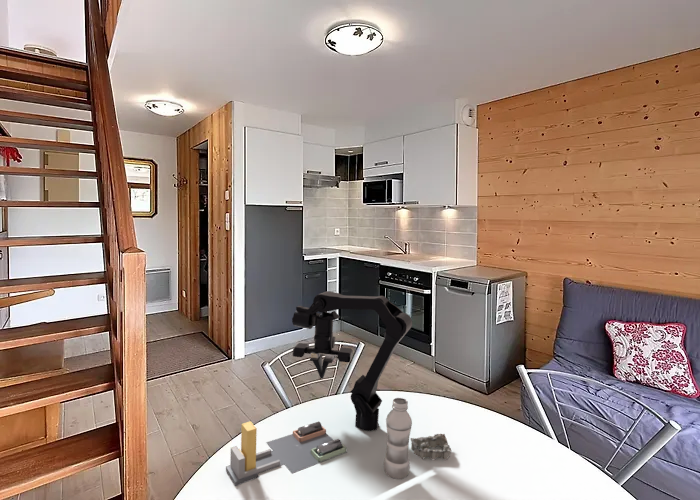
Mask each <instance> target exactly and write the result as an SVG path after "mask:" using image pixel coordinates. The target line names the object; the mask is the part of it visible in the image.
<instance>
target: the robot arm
mask: <svg viewBox="0 0 700 500" xmlns="http://www.w3.org/2000/svg"><path fill="white" fill-rule="evenodd" d="M339 310H358V311H359V310H360V311H375V312H376V314H377V315H378V316H379V319H380V320H381V322H382V323H383V324H384V326H386V328H385V331H384V337H383V338H384V339H383V342H382V343H381V345H380V347H379V349H378V351H377V354H376V355H375V357H374V359H373V361H372V363H371V365H370V367H369V368H368V370H367V373H366V374H365V375H364V374H362V375H360V377H359V378H358V379H357V380H356V381H355V382H354V386H353V388H352V389H351V390H350V392H349V393H351V394H350V400H351V403H352V404H353V407H354V411H355V423H354V424H355V425H354V427H355V428H357V429H359V430H362V431H365V432H373V431H378V428H379V425H380V424H379V417H380V416H379V415H380V413H379V412H380V408H379V407H380V406H381V404H382V402H383V400H382V398H381V397H380V396H379V394H378V393H377V389H378V385H379V380H380V378H381V376H382V374H383V372H384V370H385V368H386V366H387V365H388V362H389V361H390V359H391V356H392V355H393V353H394V352H395V350H396V347H397V346H398V344H399V342H401V340H402V339H403V338H404V337H405V335H406V334H407V333H408V332H409V331H410V330H411V328H412V327H413V320H412V317H411V316H410V315H409V314H408V313H405V312H404V311H402V310H401V309H400V307H398V306H397V305H396V304H393V303H392V302H391V301H390V300H389V299H388V298H387V297H386V296H384V295H379V296H377V295H376V296H370V295H369V296H367V295H344V294H341V293H338V292H336V291H335V292H334V291H331V290H328V291H324V292H321V293H318V294H316V295H315V296H314V298H313V302H312V303H311V305H310V306H309V307H306V306H304V305H297V306H296V307H295V311H294V313H293V316H292V318H291V319H292V320H291V321H292V325H293V326H294V327H298V328H303V329H307V330H311V329H312V328H314V336H313V342H314V345H313V346H314V347H310V344H309V343H303V342H302V343H301V342H298V343H297V344H296V345H295V346H294V347H293V349H292V357H293V358H294V357H295V358H296V357H297V358H302V357H304V356H305V354H308V355H309V354H310V358H309V361H310V362H312V363H313V365H314V366H315V369H316V370H317V371H316V372H317V373H318V376H319V378H320V379H324V377H325V374H326V371H327V368H328V366H329V364H332V363H333V362H334V360H335V359H336V358H337V360H338V361H339V362H341V363H342V362H343V363H351V360H352V359H353V355H354V354H353V353H354V352H353V351H354V350H353V349H352V347H343V346H342V347H340V348H339V350H336V349H334V348H335V345H336V336H334V331H333V330H334V321H337V319H339V318H340V317H341V316H340V315H339V314H338V313H337V311H339ZM323 357H324V359H323Z"/></svg>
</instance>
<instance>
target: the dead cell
mask: <svg viewBox="0 0 700 500" xmlns="http://www.w3.org/2000/svg"><path fill="white" fill-rule="evenodd" d="M297 430H298V435H299V436H300V437H303V436H306V435H309V434H312V433H315V432H318V431H321V430H322V423H321V422H320V421H316V422H312V423H309V424H306V425H304V426H303V425H302V426H300V427H298V428H297Z"/></svg>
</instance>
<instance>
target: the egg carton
mask: <svg viewBox="0 0 700 500" xmlns="http://www.w3.org/2000/svg"><path fill="white" fill-rule="evenodd" d="M410 442H411V444H410V445H411V447H410V449H411V451H413V454H415V456H417V457H418V458H419V459H421V460H424V459H425V458H429V459H431V460H432V461H435V460H436V459H437V458H441V459H443V460H447V461H448V458H450V457H451V452H452V449H451V446H450V445H449V442H448V440H447V437H446V434H445V433H436V434H434V435H433V436H432V435H429V436H425V437H424V436H420V437H417V438H415V437H410ZM437 446H439V447H440V448H441V447H442V448H443V449H438V448H437ZM431 448H432V449H431ZM434 448H437V449H434Z"/></svg>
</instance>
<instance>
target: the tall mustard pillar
mask: <svg viewBox="0 0 700 500" xmlns="http://www.w3.org/2000/svg"><path fill="white" fill-rule="evenodd" d="M240 431H241V432H240V433H241V435H240V436H241V437H240V438H241V439H240V441H241V442H240V450H241V452H242V453H243V455H244V457H245V471H248V470H251V469H254V468H256V453H257V434H258V433H257V432H258V430H257V426H255V425H254V424H253V422H252V421H251V420H250V421H247V422H244V423H241V430H240Z"/></svg>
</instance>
